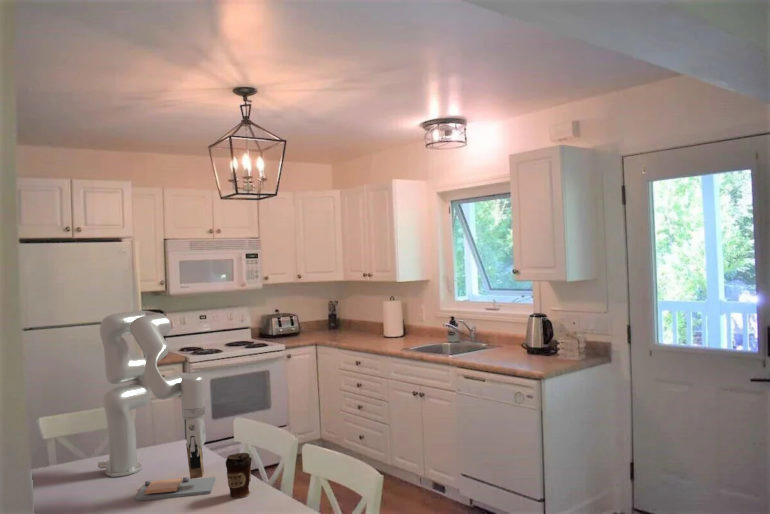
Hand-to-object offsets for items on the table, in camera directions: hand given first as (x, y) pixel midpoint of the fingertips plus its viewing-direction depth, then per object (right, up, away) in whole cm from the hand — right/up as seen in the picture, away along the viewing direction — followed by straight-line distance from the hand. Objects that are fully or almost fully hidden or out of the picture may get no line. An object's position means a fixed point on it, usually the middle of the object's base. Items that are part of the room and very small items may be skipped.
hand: (196, 465), depth 210 cm
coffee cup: (+17, -7, -8) cm, 20 cm away
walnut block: (0, -4, 0) cm, 4 cm away
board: (-7, -8, 0) cm, 11 cm away
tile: (-11, -7, -1) cm, 13 cm away
